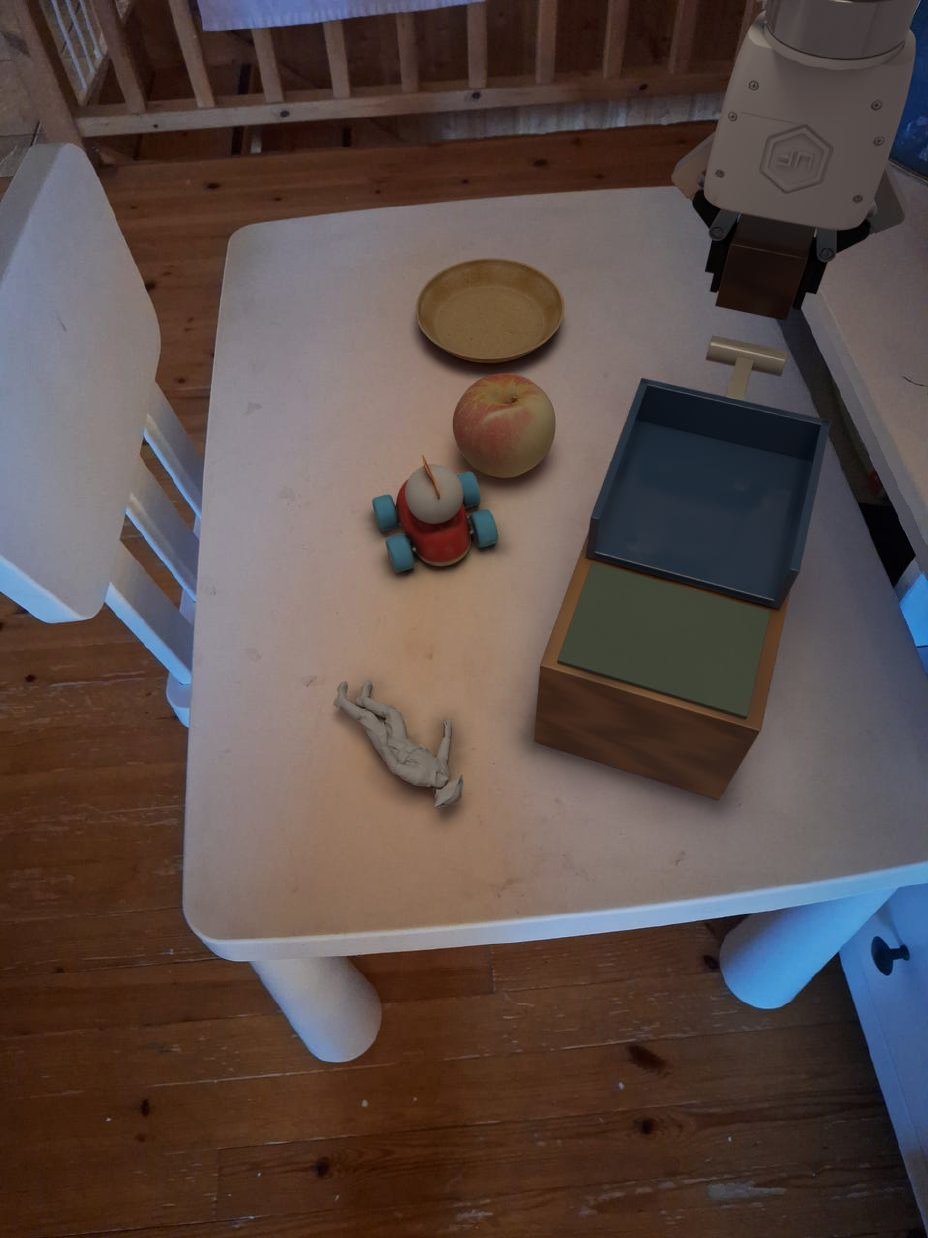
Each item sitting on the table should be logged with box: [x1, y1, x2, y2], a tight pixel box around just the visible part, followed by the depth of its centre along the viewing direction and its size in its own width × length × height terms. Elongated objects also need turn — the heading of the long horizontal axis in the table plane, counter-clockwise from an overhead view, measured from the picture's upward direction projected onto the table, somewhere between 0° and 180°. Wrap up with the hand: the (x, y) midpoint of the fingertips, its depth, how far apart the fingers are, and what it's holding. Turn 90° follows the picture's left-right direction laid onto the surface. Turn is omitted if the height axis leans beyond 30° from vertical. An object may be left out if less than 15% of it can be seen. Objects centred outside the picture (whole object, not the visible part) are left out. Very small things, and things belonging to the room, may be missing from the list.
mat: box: [557, 563, 770, 719], centre depth 58 cm, size 12×8×1 cm, turn 70°
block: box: [714, 213, 816, 322], centre depth 62 cm, size 5×5×5 cm
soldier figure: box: [333, 679, 465, 809], centre depth 66 cm, size 8×5×12 cm
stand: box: [533, 530, 791, 801], centre depth 67 cm, size 14×23×12 cm, turn 160°
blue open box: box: [585, 334, 832, 609], centre depth 63 cm, size 13×19×5 cm
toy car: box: [371, 454, 499, 573], centre depth 74 cm, size 9×9×10 cm
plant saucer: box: [415, 257, 565, 364], centre depth 90 cm, size 15×15×3 cm
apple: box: [452, 372, 557, 479], centre depth 79 cm, size 9×9×8 cm
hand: (758, 286), depth 64 cm, fingers closed on block, 5 cm apart
